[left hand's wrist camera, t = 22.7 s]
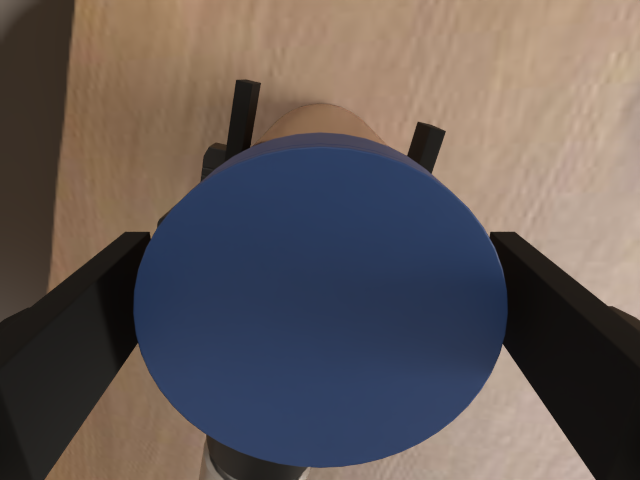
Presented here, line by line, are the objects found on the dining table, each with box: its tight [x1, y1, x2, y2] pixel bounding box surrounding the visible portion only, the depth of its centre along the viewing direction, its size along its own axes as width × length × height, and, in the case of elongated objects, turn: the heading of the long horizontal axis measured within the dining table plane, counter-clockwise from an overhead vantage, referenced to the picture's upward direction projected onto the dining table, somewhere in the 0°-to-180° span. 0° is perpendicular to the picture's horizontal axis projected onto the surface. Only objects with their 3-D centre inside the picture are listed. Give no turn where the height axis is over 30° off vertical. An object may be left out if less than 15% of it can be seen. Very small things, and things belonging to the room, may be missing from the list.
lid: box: [133, 132, 508, 468], centre depth 11 cm, size 9×9×2 cm
